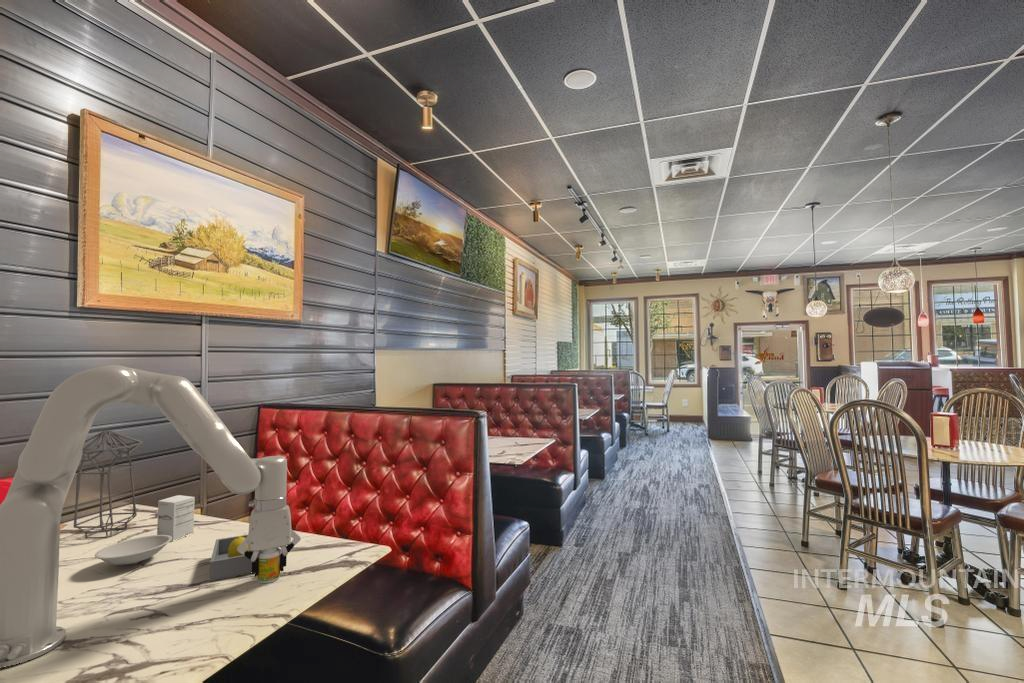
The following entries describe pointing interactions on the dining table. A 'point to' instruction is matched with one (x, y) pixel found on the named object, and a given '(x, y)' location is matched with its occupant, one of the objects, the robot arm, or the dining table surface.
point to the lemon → (235, 547)
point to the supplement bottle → (269, 565)
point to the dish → (133, 549)
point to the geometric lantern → (115, 436)
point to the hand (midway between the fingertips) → (269, 571)
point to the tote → (227, 561)
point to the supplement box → (176, 516)
